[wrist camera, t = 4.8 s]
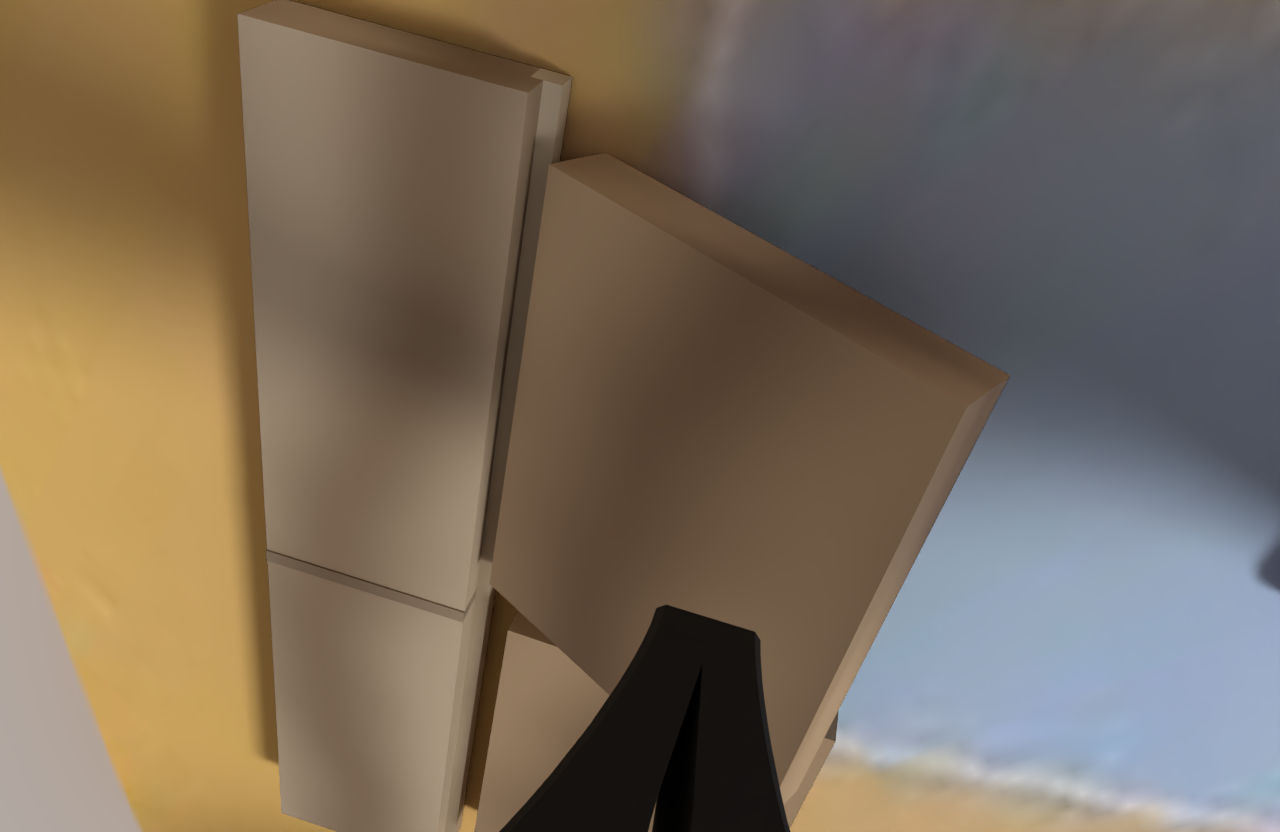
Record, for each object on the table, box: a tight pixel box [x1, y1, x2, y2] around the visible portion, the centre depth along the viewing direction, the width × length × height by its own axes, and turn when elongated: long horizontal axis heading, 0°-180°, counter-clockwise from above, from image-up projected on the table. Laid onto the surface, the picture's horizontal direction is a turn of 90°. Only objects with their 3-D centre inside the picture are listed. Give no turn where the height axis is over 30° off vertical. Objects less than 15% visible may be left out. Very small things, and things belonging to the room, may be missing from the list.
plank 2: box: [475, 611, 838, 832], centre depth 22 cm, size 7×9×1 cm
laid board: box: [237, 0, 572, 832], centre depth 20 cm, size 5×21×1 cm, turn 169°
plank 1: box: [489, 153, 1010, 804], centre depth 15 cm, size 7×9×1 cm
